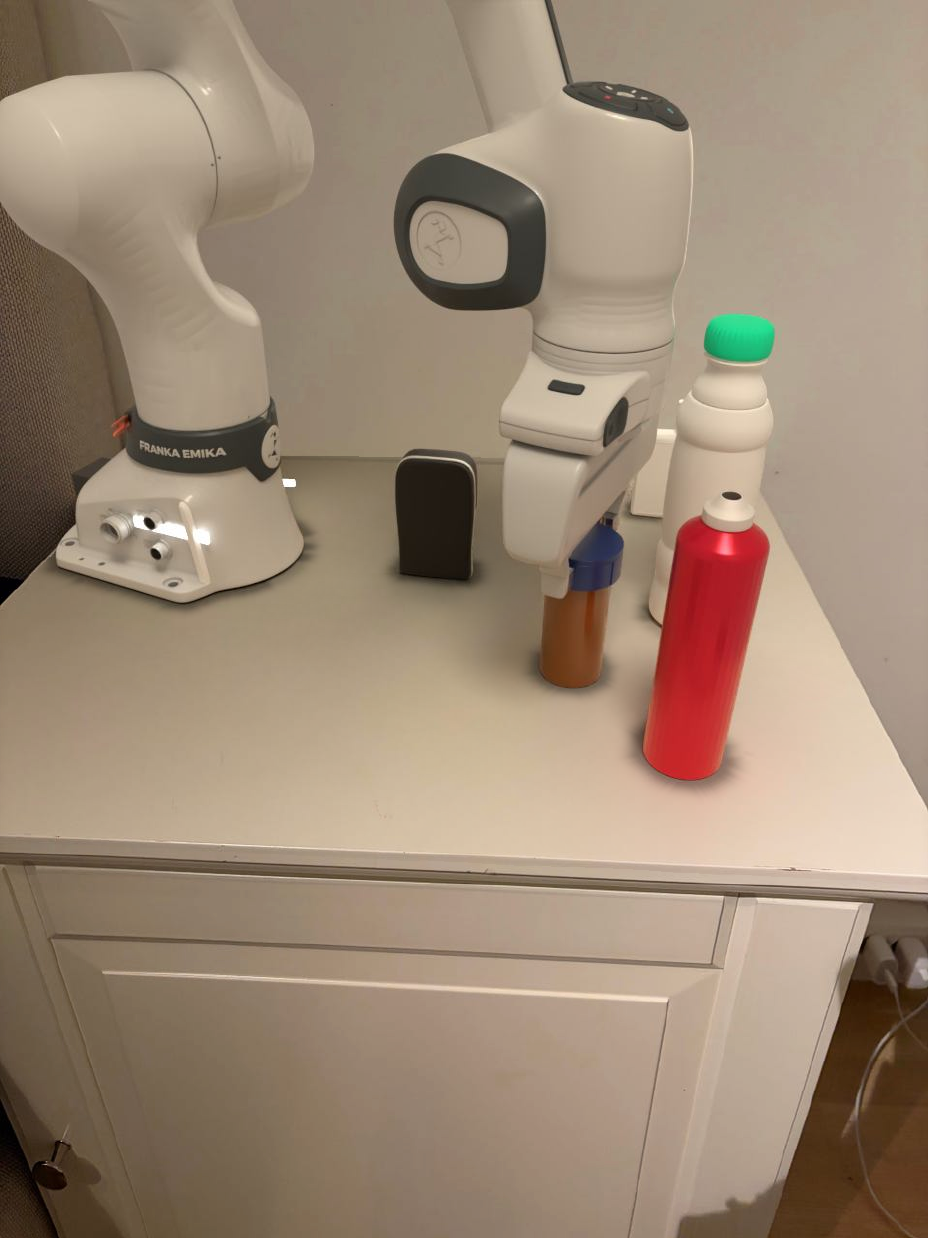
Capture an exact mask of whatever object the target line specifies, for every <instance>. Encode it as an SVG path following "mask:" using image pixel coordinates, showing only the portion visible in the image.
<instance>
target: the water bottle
mask: <svg viewBox="0 0 928 1238" xmlns="http://www.w3.org/2000/svg"><path fill="white" fill-rule="evenodd" d="M775 337H776V329H775V327H774V324H773V323H772V322H771V321H769V320H768V319H766V318H764V317H760V316H757V315H752V314H746V313H745V314H743V313H724V314H719V315H717V316H715V317H712V318H711V320H710V321H708V323H707V327H706V329H705V332H704V337H703V349H704V352H703V355H704V357H705V358H706V360H707V362H706V363H707V364H706V367H705V369H704V370H703V371H702V372H701V374H700V375H699V376H698V377H697V378H696V380H695V381H694V383H693V384H692V385H693V386H692V389H691V390H690V391H689V392H688V393H687V394H686V395H685V397H684V398H683V399H684V400H683V402H682V403H681V405H680V407H679V409H678V408H677V411H678V412H677V411H676V417H675V424H676V428H677V435H676V438H675V442H674V447H673V451H672V456H671V461H670V466H669V472H668V478H667V485H666V492H665V499H664V508H663V518H661V519H662V521H661V536H660V538H659V540H658V543H657V548H656V553H655V562H654V563H655V564H654V565H655V566H654V568H655V573H654V576H653V579H652V583H651V586H650V591H649V597H648V609H649V613H650V614H651V616H652V617H653V618H654V620H655V621H656V622H657V623H658V624H659V625H661V626H662V623H663V617H664V611H665V604H666V598H667V592H668V586H669V580H670V573H671V567H672V561H673V555H674V548H675V542H676V536H677V533H678V530H679V529H680V527H681V526H682V525H683V524H684V523H685V522H686V521H688V520H689V519H691V518H693V517H696V516H698V515H702V511H703V506H704V504H705V502H706V501H708V500H710V499H713V498H716V497H717V496H718V495H720V494H721V493H722V492H725V491H733V492H737V493H739V494H741V495H742V496H743V498H744V499H745V501H746V503H748V504H750V505H751V506H752V507H753V508H754V510H755V511H756V509H757V504H758V500H759V496H760V491H761V485H762V480H763V475H764V467H765V461H766V454H767V443H768V442H769V440H770V438H771V436H772V433H773V430H774V424H775V423H774V422H775V421H774V413H773V409H772V406H771V402H770V400H769V398H768V388H767V385H766V383H765V381H764V378H763V375H762V369H763V366H764V365H765V364H766V363H767V362H768V361H769V357H770V355H771V354H772V351H773V348H774V343H775Z"/></svg>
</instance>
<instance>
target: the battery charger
mask: <svg viewBox="0 0 928 1238" xmlns="http://www.w3.org/2000/svg"><path fill="white" fill-rule="evenodd" d="M394 472H395V475H394V501H395V502H394V503H395V504H394V505H395V519H396V530H397V538H398V569H399V570H398V571H399V573H402V574H408V575H414V576H415V575H416V576H422V577H423V576H424V577H431V578H442V579H443V578H444V579H457V580H468V579H470V578H471V577H472V576H473V572H474V537H475V536H474V535H475V521H476V512H477V509H478V508H477V507H478V470H477V464H476V462H475V460H474V458H473V457H472V456H471V455H470V454H468V453H466V452H462V451H456V450H447V449H437V448H436V449H435V448H413V449H409V450H408V451H407V452H406V453H405V454H404V455H403V456H402V459H400V461H399V462H398V464H397V466H396V467H395V471H394Z"/></svg>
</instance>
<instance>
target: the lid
mask: <svg viewBox="0 0 928 1238" xmlns="http://www.w3.org/2000/svg"><path fill="white" fill-rule="evenodd" d="M624 549H625V541H624V538H623V536H622V535H621V533H619V532H618V531H617V530H616V531H615V530H613V529H612V528H610V527H608V526H605V525H602V524H599V523H596V524H595V525H594V526H593V528H592V529H591V530H590V531H589V532H588V534H587V535H586V536H585V537H584V538H583V539H582V541H581V542H580V543H579V544H578V545H577V547H576V548H575V549H574V550H573V551H572V554H571V556H570V557H569V558H568V561H569V567H570V568H574V574H573V579H572V582H573V584H572V587H571V588H570V590H574V591H596V590H601V589H604V588H607V587H609V586H611V587H612V586H613V585H615V583H616V582H618V580H620V577H621V573H622V566H623V565H622V564H623V557H624ZM540 574H542V572H541V571H540Z"/></svg>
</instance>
